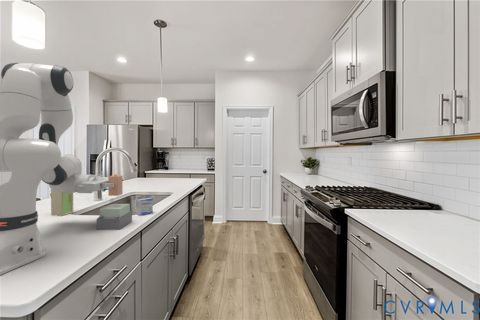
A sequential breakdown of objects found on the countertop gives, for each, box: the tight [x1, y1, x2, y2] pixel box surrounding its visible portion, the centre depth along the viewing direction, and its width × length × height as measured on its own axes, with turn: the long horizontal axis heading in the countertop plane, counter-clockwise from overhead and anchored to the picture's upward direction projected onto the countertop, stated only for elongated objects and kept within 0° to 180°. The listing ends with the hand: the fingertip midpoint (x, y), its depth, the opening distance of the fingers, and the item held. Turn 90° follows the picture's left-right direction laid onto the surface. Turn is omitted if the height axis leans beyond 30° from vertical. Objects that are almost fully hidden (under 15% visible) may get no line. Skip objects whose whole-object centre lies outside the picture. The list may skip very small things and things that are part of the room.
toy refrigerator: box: [50, 188, 74, 217], centre depth 136 cm, size 8×7×21 cm
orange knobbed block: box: [107, 173, 124, 197], centre depth 117 cm, size 4×4×10 cm
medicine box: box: [135, 197, 154, 216], centre depth 140 cm, size 8×4×9 cm, turn 143°
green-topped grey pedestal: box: [96, 203, 133, 231], centre depth 117 cm, size 14×10×9 cm
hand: (117, 184), depth 117 cm, fingers closed on orange knobbed block, 4 cm apart
